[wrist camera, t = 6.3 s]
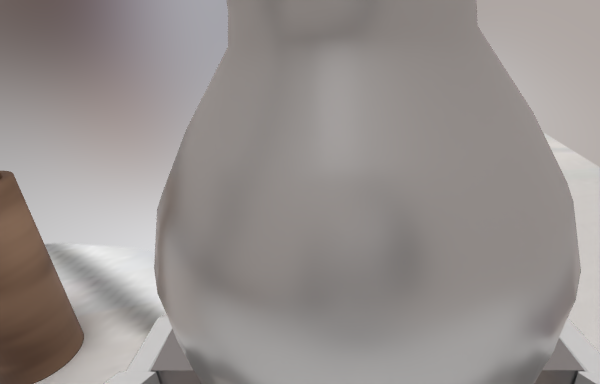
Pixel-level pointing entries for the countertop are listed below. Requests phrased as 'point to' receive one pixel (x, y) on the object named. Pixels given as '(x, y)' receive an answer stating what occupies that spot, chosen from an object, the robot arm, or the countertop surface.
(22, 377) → the pepper mill
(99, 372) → the countertop surface
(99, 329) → the countertop surface
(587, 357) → the robot arm
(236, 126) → the plastic bottle
